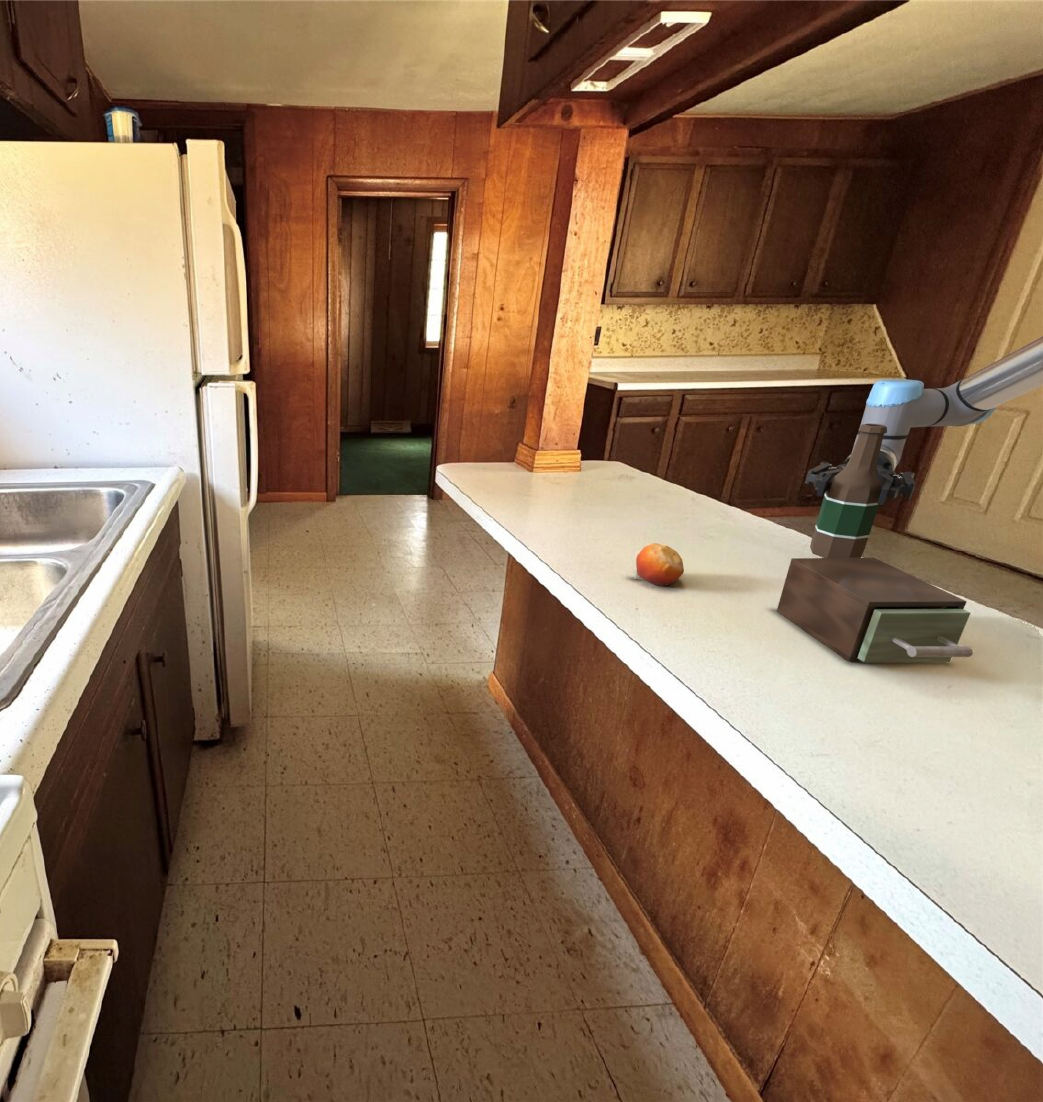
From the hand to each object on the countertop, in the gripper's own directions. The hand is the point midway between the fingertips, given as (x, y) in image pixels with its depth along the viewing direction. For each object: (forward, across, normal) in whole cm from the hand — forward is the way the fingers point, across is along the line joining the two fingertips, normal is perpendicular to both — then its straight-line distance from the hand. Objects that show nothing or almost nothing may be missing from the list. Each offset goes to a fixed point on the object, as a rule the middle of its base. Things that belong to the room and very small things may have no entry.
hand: (851, 492), depth 105 cm
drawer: (+24, -9, -16) cm, 30 cm away
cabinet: (+21, -6, -17) cm, 27 cm away
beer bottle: (-5, 0, -13) cm, 14 cm away
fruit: (+20, +22, -17) cm, 34 cm away
